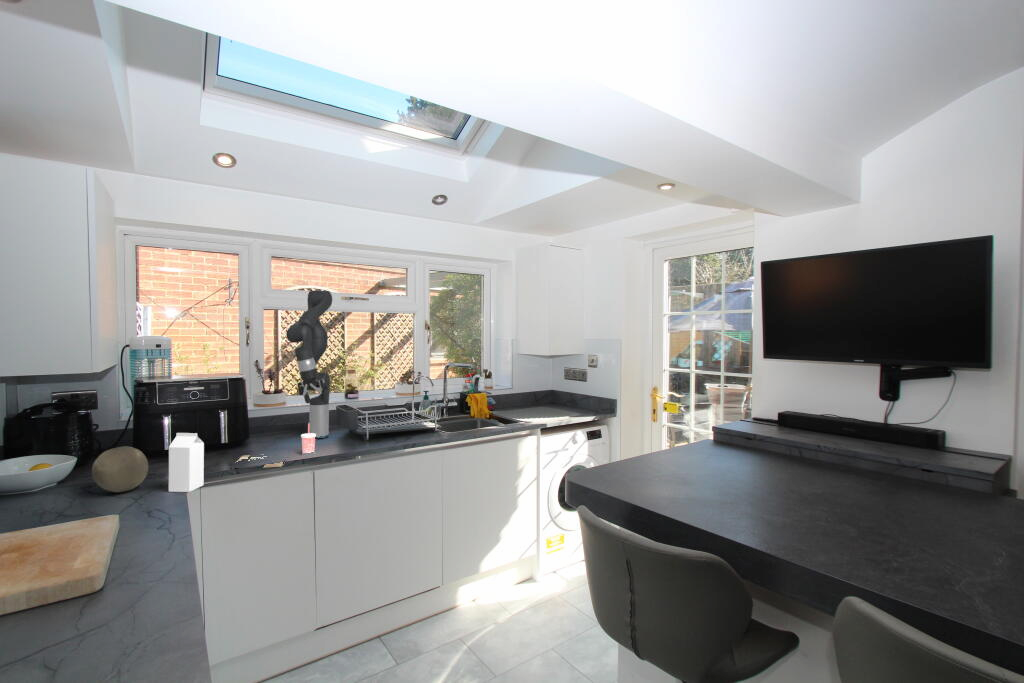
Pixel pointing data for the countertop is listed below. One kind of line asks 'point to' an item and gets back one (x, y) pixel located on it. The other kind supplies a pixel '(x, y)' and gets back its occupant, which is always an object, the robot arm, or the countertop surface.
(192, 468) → the milk carton
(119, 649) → the countertop surface
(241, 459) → the oak board
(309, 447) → the beverage cup
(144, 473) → the cantaloupe
